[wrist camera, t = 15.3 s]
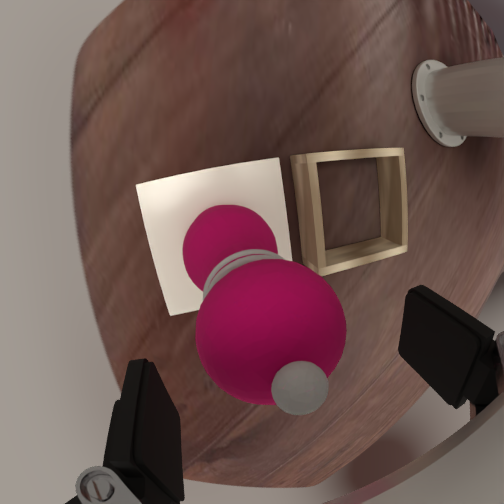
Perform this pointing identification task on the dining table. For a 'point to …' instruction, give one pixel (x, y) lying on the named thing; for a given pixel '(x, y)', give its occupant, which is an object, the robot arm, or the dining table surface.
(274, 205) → the tile
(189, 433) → the dining table surface
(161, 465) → the robot arm
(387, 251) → the holder
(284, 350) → the pepper mill
